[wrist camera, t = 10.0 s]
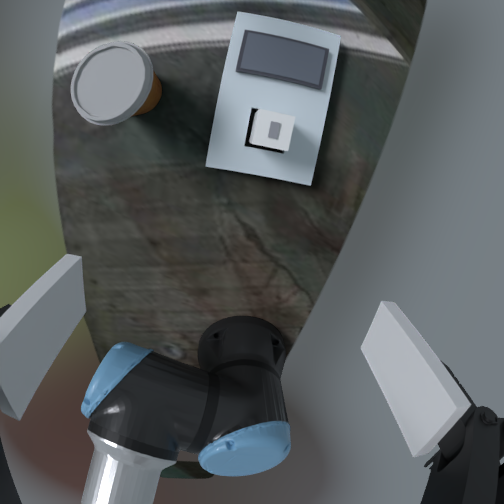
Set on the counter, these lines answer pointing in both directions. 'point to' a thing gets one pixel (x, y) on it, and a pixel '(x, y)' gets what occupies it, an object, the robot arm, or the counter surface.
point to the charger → (272, 129)
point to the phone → (282, 59)
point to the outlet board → (270, 107)
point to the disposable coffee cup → (115, 84)
